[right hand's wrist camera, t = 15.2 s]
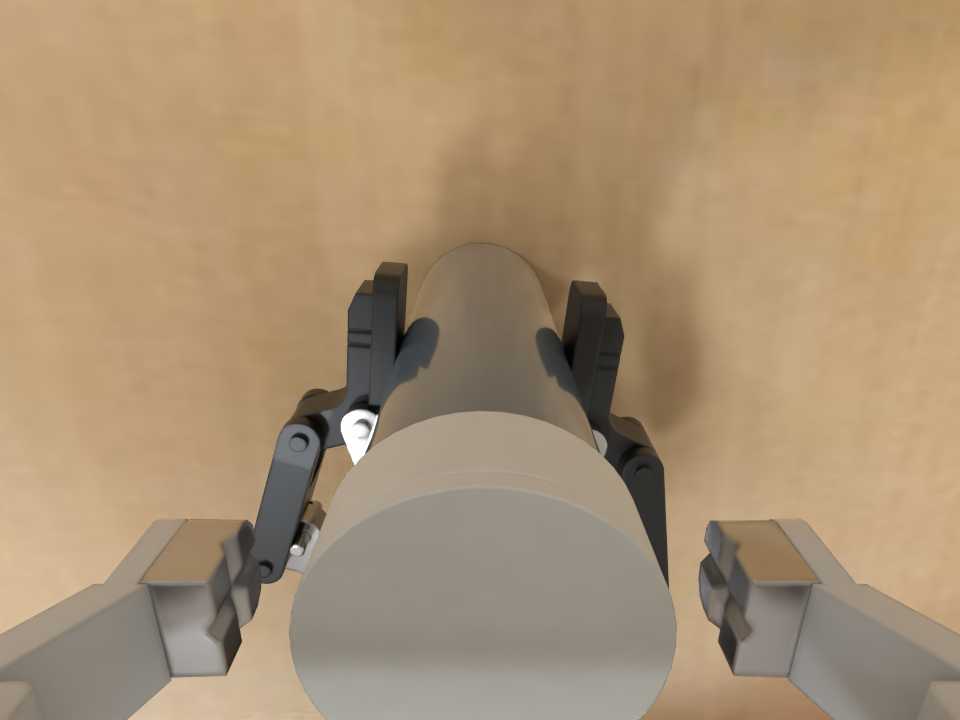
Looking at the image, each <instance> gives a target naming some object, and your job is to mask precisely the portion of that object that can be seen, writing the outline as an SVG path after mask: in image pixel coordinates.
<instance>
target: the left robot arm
mask: <svg viewBox="0 0 960 720" xmlns="http://www.w3.org/2000/svg"><path fill="white" fill-rule="evenodd" d="M407 275H408V267H407V264H404V263H393V262H382V264H381V265H380V267H379V268H378V270H377V271H376V273H375V276H374V281H371V280H365V281H364V282H363V284H362V285H361V286H360V288H359V289H358V291H357V292H356V294H355V296H354V298H353V301H352V303H351V305H350V307H349V309H348V346H347V386H346V387H344V388H342V389H339V390H335V391H331V392H328V391H326V390H323V389H312V390H310V391H308V392H306V393H305V394H304V395H303V397H302V399H301V400H300V402H299V403H298V406H297V409H296V411H295V413H294V414H293V416H292V417H291V419H290V420H289V421H288V422H287V423H286V424H285V426H284V427H283V429H282V430H281V432H280V434H279V436H278V440H277V444H276V448H275V452H274V455H273V459H272V463H271V467H270V471H269V475H268V478H267V482H266V486H265V490H264V494H263V497H262V501H261V505H260V509H259V513H258V516H257V520H256V524H255V528H254V534H255V539H256V541H255V543H254V545H253V547H252V549H251V551H250V554H251V555H252V556H253V557H254V558H255V559H256V560H257V561H258V562H259V563H260V570H261V583H264V584H269V583H274V582H276V581H278V580H279V579H280V578H281V577H282V575H283V572H284V570H285V569H289V570H293V571H296V572H300V573H304V571H305V569H306V566H307V564H308V561H309V558H310V556H311V553H312V551H313V548H314V545H315V543H316V540H317V538H318V535H319V532H320V530H321V527H322V525H323V522H324V519H325V517H326V513H325V511H324V510H323V509H322V504H321V503H320V502H318V501H311V499H312V495H313V492H314V488H315V485H316V482H317V478H318V475H319V472H320V468H321V465H322V462H323V458H324V455H325V451H326V449H327V448H332V447H336V446H340V445H345V444H346V446H347V448H348V451H349V453H350V456H351V459H352V461H353V464H354V465H355V464H356V463H357V461H358V460H359V459H360V458H361V457H362V456H363V455H364V452H365V449H366V446H367V443H368V440H369V437H370V434H371V431H372V428H373V425H374V422H375V419H376V417H377V414H378V411H379V408H380V405H381V402H382V399H383V396H384V393H385V390H386V387H387V384H388V382H389V379H390V376H391V373H392V370H393V367H394V364H395V361H396V358H397V355H398V352H399V349H400V347H401V344H402V341H403V338H404V331H405V313H406V294H407ZM623 340H624V333H623V328H622V324H621V319H620V317H619V316H618V314H617V313H616V311H615V310H614V308H613V307H612V305H611V304H608V303H607V298H606V295H605V293H604V292H603V290H602V289H601V287H600V286H599V285H598V283H596V282H585V281H575V280H573V281H572V283H571V287H570V291H569V298H568V304H567V310H566V317H565V323H564V330H563V336H562V342H561V343H562V346H563V349H564V352H565V355H566V357H567V360H568V363H569V366H570V369H571V372H572V374H573V377H574V380H575V383H576V386H577V388H578V391H579V394H580V397H581V400H582V403H583V405H584V408H585V411H586V414H587V417H588V420H589V422H590V425H591V428H592V431H593V434H594V436H595V439H596V442H597V445H598V448H599V451H600V453H601V455H602V456H603V457H604V458H605V459H606V460H607V461H608V462H609V463H610V464H611V465H612V466H613V468H614V469H615V470H616V472H617V473H618V474H619V476H620V477H621V479H622V480H623V481H624V483H625V485H626V487H627V489H628V491H629V493H630V494H631V496H632V498H633V501H634V503H635V506H636V508H637V511H638V513H639V516H640V518H641V521H642V523H643V526H644V528H645V531H646V533H647V536H648V539H649V541H650V544H651V546H652V549H653V551H654V554H655V556H656V559H657V561H658V564H659V566H660V569H661V572H662V574H663V576H664V579H665V581H666V584H667V586H668V589H669V580H668V556H667V533H666V509H665V485H664V468H663V465H662V462H661V461H660V459H659V457H658V455H657V453H656V451H655V449H654V447H653V445H652V443H651V441H650V439H649V438H648V436H647V434H646V432H645V430H644V428H643V426H642V424H641V423H640V422H639V421H638V420H637V419H635V418H632V417H622V418H620V417H618V416H616V415H613V414H611V413H610V407H611V402H612V396H613V391H614V386H615V381H616V376H617V368H618V366H619V361H620V354H621V350H622V345H623Z"/></svg>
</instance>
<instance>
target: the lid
mask: <svg viewBox="0 0 960 720" xmlns="http://www.w3.org/2000/svg"><path fill="white" fill-rule="evenodd" d="M676 630H677V625H676V618H675V610H674V605H673V602H672V599H671V596H670V593H669V589H668V586H667V584H666V581H665V579H664V576H663V574H662V572H661V569H660V566H659V564H658V561H657V559H656V556H655V554H654V551H653V549H652V546H651V544H650V541H649V539H648V536H647V533H646V531H645V528H644V526H643V523H642V521H641V518H640V516H639V513H638V511H637V508H636V506H635V503H634V501H633V498H632V496H631V494H630V493H629V491H628V489H627V487H626V485H625V483H624V481H623V480H622V479H621V477H620V476H619V474H618V473H617V472H616V470H615V469H614V468H613V466H612V465H611V464H610V463H609V462H608V461H607V460H606V459H605V458H604V457H603V456H602V455H601V454H600V453H599V452H597V451H596V450H595V449H594V448H592V447H591V446H590V445H588V444H587V443H586V442H585V441H583V440H581V439H580V438H578V437H576V436H575V435H573V434H571V433H569V432H568V431H566V430H564V429H561V428H559V427H557V426H554V425H552V424H550V423H547V422H545V421H541V420H538V419H534V418H531V417H527V416H524V415H518V414H512V413H505V412H491V411H473V412H460V413H453V414H448V415H443V416H438V417H434V418H431V419H427V420H424V421H421V422H418V423H415V424H413V425H411V426H409V427H406V428H404V429H402V430H400V431H398V432H396V433H394V434H392V435H391V436H389V437H387V438H386V439H384V440H383V441H381V442H380V443H378V444H377V445H375V446H374V447H373V448H372V449H371V450H369V451H368V452H367V453H366V454H365V455H363V456H362V457H361V458H360V459H359V460H358V461H357V463H356V464H355V465H354V466H353V467H352V468H351V469H350V471H349V472H348V473H347V474H346V476H345V477H344V479H343V481H342V482H341V484H340V485H339V487H338V488H337V491H336V493H335V495H334V497H333V499H332V502H331V504H330V506H329V509H328V512H327V514H326V517H325V519H324V522H323V525H322V527H321V530H320V532H319V535H318V538H317V540H316V543H315V545H314V548H313V551H312V553H311V556H310V558H309V561H308V564H307V566H306V569H305V571H304V574H303V577H302V579H301V582H300V584H299V587H298V590H297V592H296V596H295V599H294V603H293V607H292V611H291V618H290V630H289V634H290V645H291V654H292V658H293V662H294V665H295V669H296V673H297V675H298V677H299V679H300V682H301V684H302V686H303V688H304V690H305V692H306V693H307V695H308V697H309V698H310V700H311V701H312V703H313V704H314V706H315V707H316V708H317V710H318V711H319V712H320V713H321V714H322V715H323V717H324V718H325V719H326V720H640V719H641V718H642V717H643V715H644V714H645V713H646V712H647V710H648V709H649V708H650V707H651V705H652V704H653V703H654V702H655V700H656V698H657V696H658V695H659V693H660V691H661V690H662V688H663V686H664V684H665V682H666V679H667V677H668V674H669V672H670V669H671V667H672V662H673V657H674V653H675V648H676Z"/></svg>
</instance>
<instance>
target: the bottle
mask: <svg viewBox="0 0 960 720" xmlns="http://www.w3.org/2000/svg"><path fill="white" fill-rule="evenodd" d="M473 411H491V412H505V413H512V414H518V415H524V416H527V417H531V418H534V419H538V420H541V421H545V422H547V423H550V424H552V425H554V426H557V427H559V428H561V429H564V430H566V431H568V432H569V433H571V434H573V435H575V436H576V437H578V438H580V439H581V440H583V441H585V442H586V443H587V444H588V445H590V446H591V447H592V448H594V449H595V450H596V451H597V452H599V453H600V451H599V448H598V445H597V442H596V439H595V436H594V434H593V431H592V428H591V425H590V422H589V420H588V417H587V414H586V411H585V408H584V405H583V403H582V400H581V397H580V394H579V391H578V388H577V386H576V383H575V380H574V377H573V374H572V372H571V369H570V366H569V363H568V360H567V357H566V355H565V352H564V349H563V346H562V343H561V340H560V338H559V335H558V332H557V329H556V326H555V324H554V321H553V318H552V315H551V312H550V309H549V307H548V304H547V301H546V298H545V295H544V292H543V290H542V287H541V284H540V281H539V279H538V277H537V275H536V274H535V272H534V271H533V269H532V268H531V267H530V265H529V264H528V263H527V262H526V261H525V260H524V259H522V258H521V257H520V256H519V255H517V254H516V253H514V252H512V251H510V250H508V249H506V248H504V247H500V246H497V245H492V244H481V243H480V244H470V245H466V246H462V247H459V248H456V249H454V250H452V251H450V252H448V253H447V254H445V255H444V256H442V257H441V258H440V259H439V260H438V261H437V262H436V263H435V264H434V265H433V266H432V267H431V268H430V270H429V271H428V273H427V274H426V276H425V278H424V280H423V283H422V285H421V288H420V291H419V294H418V297H417V300H416V303H415V306H414V309H413V312H412V314H411V317H410V320H409V323H408V326H407V329H406V332H405V335H404V338H403V341H402V344H401V347H400V349H399V352H398V355H397V358H396V361H395V364H394V367H393V370H392V373H391V376H390V379H389V382H388V384H387V387H386V390H385V393H384V396H383V399H382V402H381V405H380V408H379V411H378V414H377V417H376V419H375V422H374V425H373V428H372V431H371V434H370V437H369V440H368V443H367V446H366V449H365V452H364V455H365V454H366V453H367V452H368V451H369V450H371V449H372V448H373V447H374V446H375V445H377V444H378V443H380V442H381V441H383V440H384V439H386V438H387V437H389V436H391V435H392V434H394V433H396V432H398V431H400V430H402V429H404V428H406V427H409V426H411V425H413V424H415V423H418V422H421V421H424V420H427V419H431V418H434V417H438V416H443V415H448V414H453V413H460V412H473ZM600 454H601V453H600Z"/></svg>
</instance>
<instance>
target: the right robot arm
mask: <svg viewBox="0 0 960 720" xmlns="http://www.w3.org/2000/svg"><path fill="white" fill-rule="evenodd" d="M255 541H256V539H255V534H254V529H253V525H252V524H251V523H250V522H249V521H248V520H216V519H190V520H188V519H160V520H157V521H155V522H153V523H152V524H151V526H150V527H149V528H148V529H147V531H146V532H145V533H144V534H143V536H142V537H141V538H140V539H139V541H138V542H137V543H136V544H135V545H134V547H133V548H132V549H131V550H130V552H129V553H128V554H127V555H126V557H125V558H124V559H123V560H122V562H121V563H120V564H119V565H118V566H117V568H116V569H115V570H114V571H113V573H112V574H111V575H110V576H109V578H108V579H107V580H106V581H105V583H104V584H93V585H91V586H89V587H87V588H86V589H84V590H82V591H80V592H78V593H76V594H75V595H73V596H71V597H69V598H67V599H65V600H63V601H62V602H60V603H58V604H56V605H54V606H52V607H50V608H49V609H47V610H45V611H43V612H41V613H39V614H38V615H36V616H34V617H32V618H30V619H28V620H26V621H25V622H23V623H21V624H19V625H17V626H15V627H13V628H12V629H10V630H8V631H6V632H4V633H2V634H1V635H0V720H127V719H128V718H129V717H131V716H132V715H133V714H134V713H135V712H136V711H137V710H138V709H140V708H141V707H142V706H143V705H144V704H145V703H146V702H147V701H149V700H150V699H151V698H152V697H153V696H154V695H155V694H157V693H158V692H159V691H160V690H161V689H162V688H163V687H164V686H166V685H167V684H168V683H169V682H170V681H171V677H202V676H226V675H227V673H228V671H229V669H230V666H231V664H232V662H233V660H234V658H235V656H236V653H237V651H238V649H239V647H240V645H241V642H242V640H241V634H240V628H242V627H243V626H244V625H246V624H247V623H248V622H250V621H251V620H252V618H253V616H254V613H255V611H256V608H257V606H258V601H259V596H260V591H261V570H260V563H259V562H258V561H257V560H256V559H255V558H254V557H253V556H252V555H251V554H250V551H251V549H252V547H253V545H254V543H255ZM704 541H705V543H706V545H707V547H708V549H709V551H710V554H709V555H708V556H707V557H706V558H705V559H704V560H703V561H702V562H701V563H700V571H699V591H700V598H701V602H702V605H703V609H704V611H705V613H706V616H707V618H708V620H709V621H710V622H712V623H713V624H714V625H716V626H717V627H718V628H720V634H719V640H718V642H719V645H720V647H721V649H722V651H723V653H724V655H725V658H726V660H727V662H728V664H729V666H730V668H731V671H732V673H733V675H734V676H757V677H789V681H790V682H791V683H793V684H794V685H795V686H796V687H797V688H798V689H799V690H800V691H802V692H803V693H804V694H805V695H806V696H807V697H808V698H809V699H811V700H812V701H813V702H814V703H815V704H816V705H817V706H818V707H820V708H821V709H822V710H823V711H824V712H825V713H826V714H827V715H829V716H830V717H831V718H832V719H833V720H960V635H959V634H957V633H956V632H954V631H952V630H950V629H948V628H946V627H944V626H943V625H941V624H939V623H937V622H935V621H933V620H932V619H930V618H928V617H926V616H924V615H922V614H920V613H919V612H917V611H915V610H913V609H911V608H909V607H908V606H906V605H904V604H902V603H900V602H898V601H897V600H895V599H893V598H891V597H889V596H887V595H885V594H884V593H882V592H880V591H878V590H876V589H874V588H873V587H871V586H869V585H867V584H856V583H855V581H854V580H853V579H852V578H851V576H850V575H849V574H848V573H847V571H846V570H845V569H844V568H843V567H842V565H841V564H840V563H839V562H838V560H837V559H836V558H835V557H834V555H833V554H832V553H831V552H830V551H829V549H828V548H827V547H826V546H825V544H824V543H823V542H822V541H821V539H820V538H819V537H818V536H817V534H816V533H815V532H814V531H813V530H812V528H811V527H810V526H809V525H808V523H807V522H805V521H803V520H801V519H800V518H799V519H770V520H746V521H710V522H709V524H708V526H707V528H706V533H705V539H704Z"/></svg>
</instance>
